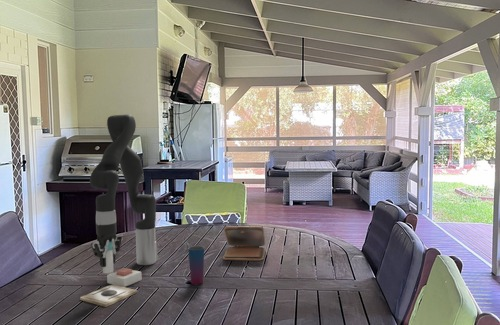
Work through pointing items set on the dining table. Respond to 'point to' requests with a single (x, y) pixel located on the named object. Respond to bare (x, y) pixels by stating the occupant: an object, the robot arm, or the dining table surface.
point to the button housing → (124, 278)
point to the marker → (109, 259)
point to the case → (245, 243)
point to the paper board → (108, 295)
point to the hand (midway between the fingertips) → (107, 264)
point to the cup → (196, 264)
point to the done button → (124, 271)
